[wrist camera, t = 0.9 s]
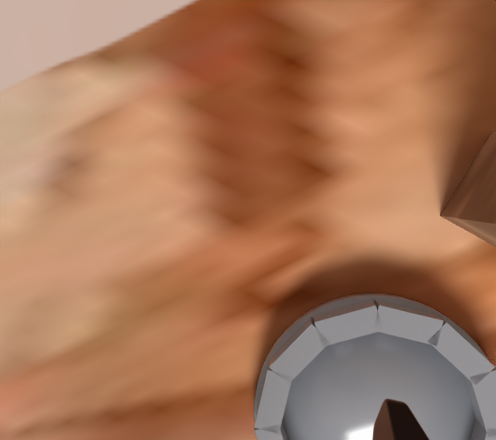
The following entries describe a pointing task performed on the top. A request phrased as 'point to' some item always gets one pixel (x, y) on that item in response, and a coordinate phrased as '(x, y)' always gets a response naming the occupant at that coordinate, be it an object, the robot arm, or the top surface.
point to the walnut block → (477, 196)
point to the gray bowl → (374, 373)
